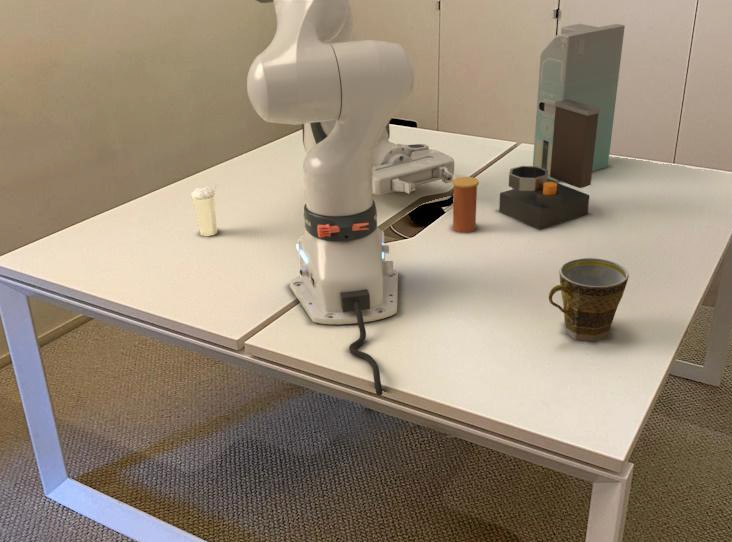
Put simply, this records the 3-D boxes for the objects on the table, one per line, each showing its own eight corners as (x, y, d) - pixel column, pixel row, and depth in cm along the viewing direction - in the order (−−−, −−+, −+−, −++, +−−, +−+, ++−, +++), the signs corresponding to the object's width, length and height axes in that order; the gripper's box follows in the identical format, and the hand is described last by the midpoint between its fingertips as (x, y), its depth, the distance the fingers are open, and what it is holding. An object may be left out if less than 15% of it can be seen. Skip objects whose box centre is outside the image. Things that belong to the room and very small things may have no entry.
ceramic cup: (591, 310, 135) (598, 252, 130) (634, 336, 128) (643, 276, 122) (525, 330, 130) (529, 271, 125) (566, 359, 123) (572, 298, 117)
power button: (539, 193, 164) (540, 183, 162) (549, 190, 165) (550, 180, 164) (549, 197, 162) (549, 187, 161) (559, 194, 163) (559, 184, 162)
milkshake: (219, 238, 164) (212, 189, 159) (193, 237, 165) (185, 187, 160) (227, 229, 168) (220, 180, 162) (202, 228, 169) (194, 179, 163)
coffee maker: (501, 183, 168) (505, 107, 160) (550, 169, 174) (556, 96, 166) (542, 200, 160) (548, 121, 151) (591, 185, 166) (600, 108, 157)
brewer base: (499, 211, 172) (500, 182, 168) (546, 197, 177) (548, 169, 174) (541, 230, 163) (543, 200, 159) (589, 215, 168) (593, 186, 165)
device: (583, 158, 198) (598, 20, 181) (608, 166, 192) (625, 25, 176) (531, 172, 190) (541, 30, 174) (555, 181, 185) (568, 36, 168)
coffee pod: (479, 231, 163) (481, 184, 158) (454, 234, 162) (455, 186, 157) (473, 222, 167) (474, 175, 162) (448, 224, 167) (449, 177, 161)
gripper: (350, 161, 172) (388, 179, 163) (430, 142, 181) (471, 158, 172) (352, 191, 176) (389, 210, 166) (430, 170, 185) (470, 188, 175)
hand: (431, 183), depth 169 cm, fingers open, 8 cm apart
